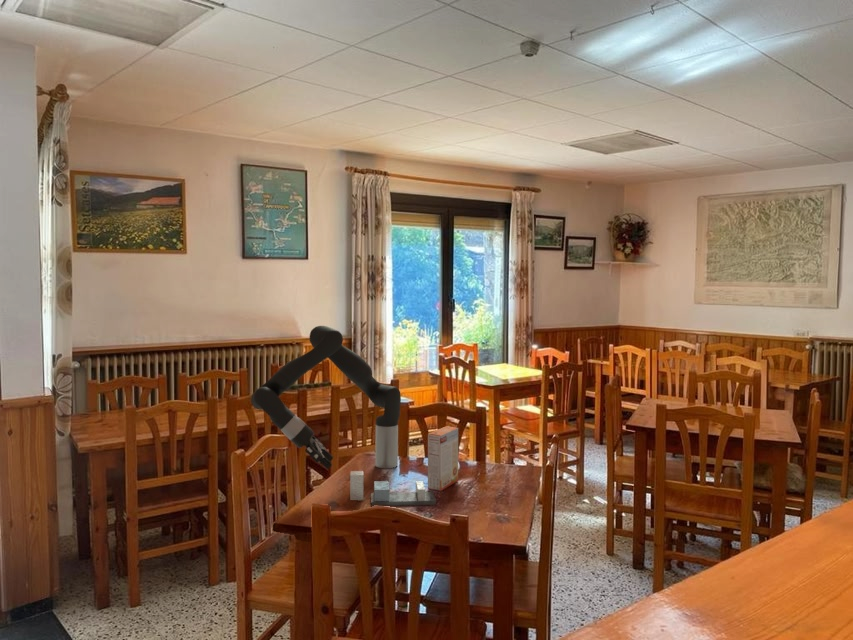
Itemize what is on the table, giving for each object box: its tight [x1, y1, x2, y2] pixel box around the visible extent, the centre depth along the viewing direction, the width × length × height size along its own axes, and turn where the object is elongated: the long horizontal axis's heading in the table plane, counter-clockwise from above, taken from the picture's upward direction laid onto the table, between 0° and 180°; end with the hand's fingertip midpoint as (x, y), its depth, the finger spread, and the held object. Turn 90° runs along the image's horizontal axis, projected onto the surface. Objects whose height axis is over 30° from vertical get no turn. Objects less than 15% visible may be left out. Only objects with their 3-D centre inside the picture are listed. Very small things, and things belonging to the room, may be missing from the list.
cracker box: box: [427, 425, 459, 492], centre depth 236 cm, size 14×6×21 cm, turn 149°
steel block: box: [349, 470, 364, 501], centre depth 221 cm, size 4×4×9 cm
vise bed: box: [370, 480, 437, 507], centre depth 219 cm, size 9×22×6 cm, turn 96°
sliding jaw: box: [373, 480, 390, 501], centre depth 218 cm, size 9×5×4 cm, turn 6°
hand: (330, 463), depth 220 cm, fingers open, 8 cm apart
